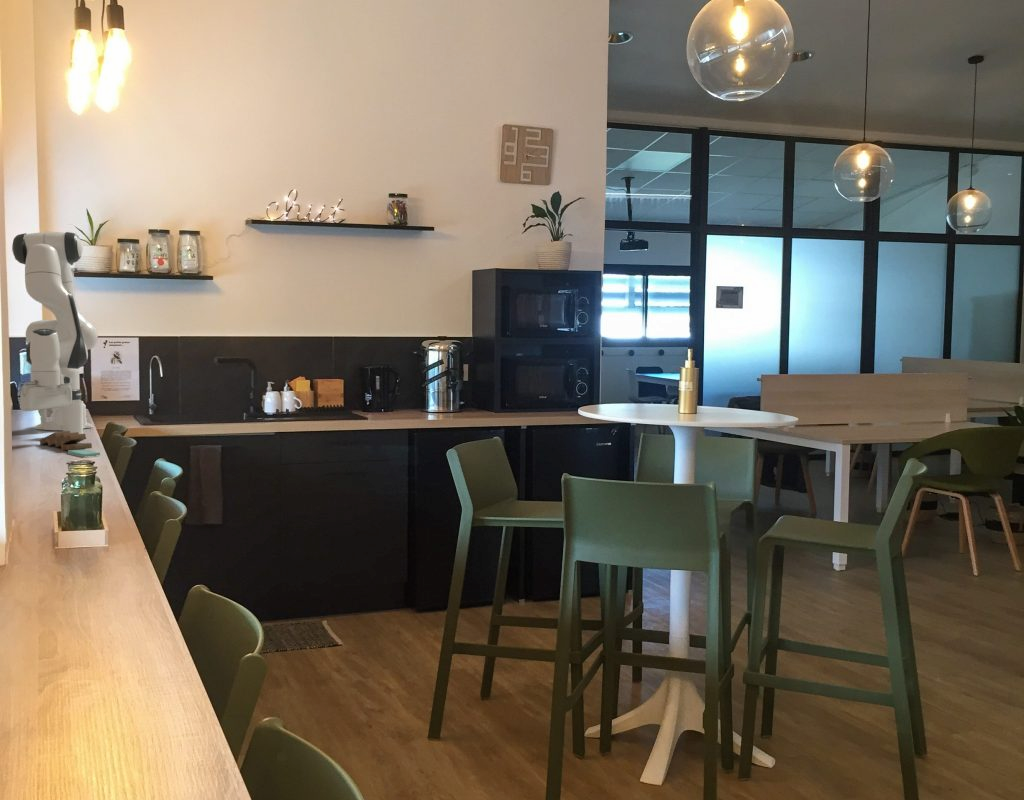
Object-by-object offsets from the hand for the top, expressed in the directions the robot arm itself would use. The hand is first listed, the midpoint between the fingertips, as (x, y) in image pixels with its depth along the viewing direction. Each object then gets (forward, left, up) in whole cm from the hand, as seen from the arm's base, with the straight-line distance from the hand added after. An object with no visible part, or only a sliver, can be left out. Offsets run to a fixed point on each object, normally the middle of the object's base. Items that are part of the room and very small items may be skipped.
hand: (46, 422), depth 328 cm
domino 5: (+21, +8, -7) cm, 24 cm away
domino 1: (0, 0, -6) cm, 6 cm away
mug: (-18, +6, -7) cm, 20 cm away
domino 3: (+8, +5, -6) cm, 11 cm away
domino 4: (+12, +6, -6) cm, 15 cm away
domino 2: (+4, +2, -6) cm, 8 cm away
